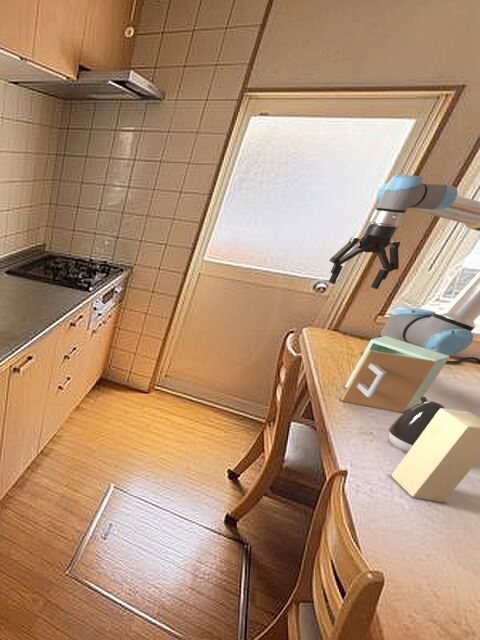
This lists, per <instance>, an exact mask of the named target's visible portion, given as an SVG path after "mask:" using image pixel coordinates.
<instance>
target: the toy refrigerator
mask: <svg viewBox="0 0 480 640" xmlns="http://www.w3.org/2000/svg"><path fill="white" fill-rule="evenodd" d="M479 460H480V417H479V416H477V415H476V414H474V413H472V412H470V411H463V410H457V409H450V408H445V409H444V408H440V409H439V410H438V412H437V413H436V414H435V416H434V417H433V419H432V420H431V421H430V423H429V424H428V425H427V427H426V428H425V430H424V431H423V432H422V434H421V435H420V436H419V438H418V439H417V441H416V442H415V443H414V445H413V446H412V447H411V449H410V450H409V452H406V454H405V456H404V457H403V458H402V460H401V461H400V462H399V464H398V465H397V466H396V468H395V469H394V470H393V472H392V473H391V475H390V477H392V479H393V480H394V481H395V482H396V483H398V485H400V486H401V487H402V488H403V490H405V491H406V492H407V493H408V495H410V496H411V497H412V498H414V499H421V500H427V501H433V502H438V503H444V502H445V501H446V500H447V498H448V497H450V495H451V494H452V493H453V491H454V490H455V489H456V488H457V486H458V485H459V484H460V483H461V482H462V481H463V480H464V478H465V477H466V476H467V475H468V473H469V472H470V471H471V470H472V468H474V466H475V465H476V464H477V462H478V461H479Z"/></svg>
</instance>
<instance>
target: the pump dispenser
mask: <svg viewBox="0 0 480 640" xmlns="http://www.w3.org/2000/svg"><path fill="white" fill-rule="evenodd" d="M420 399H421V401H420V402H419V404H418V405H416V406H414V407H412V408H411V409H408V410H406V411H404V412H403V413H402V415H400V416H398V418H397V419H396V420H395V421H394V422H393V423H392V424H391V425H390V427H389V428H388V439H389V441H390V442H391V444H392V445H393V446H394V447H396V448H397V449H399V450H401V451H402V452H405V453H408V452H409V450H410V449H411V447H412V446H413V445H414V443H415V442H416V441H417V439H418V438H419V436H420V435H421V434H422V432H423V431H424V430H425V428H426V427H427V425H428V424H429V423H430V421H431V420H432V419H433V417H434V416H435V414H436V413H437V412H438V410H439V409H440V408H444V409H446V407H445V406H444V405H443V404H441V403H440V402H437V401H431V400H429V401H428V399H427V398H426V396H423V397H421V398H420Z"/></svg>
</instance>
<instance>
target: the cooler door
mask: <svg viewBox="0 0 480 640" xmlns="http://www.w3.org/2000/svg"><path fill="white" fill-rule="evenodd" d="M435 363H436V362H435V361H433V360H427V359H421V358H415V357H409V356H403V355H397V354H391V353H385V352H378V351H372V350H369V351H368V353H367V355H366V356H365V358H364V360H363V362H362V363H361V365H360V367H359V369H358V370H357V372H356V374H355V376H354V378H353V379H352V381H351V383H350V385H349V386H348V388H346V390H345V391H344V394H343V395H342V397H341V399H340V400H341V401H342V402H347V403H351V404H357V405H361V406H367V407H371V408H378V409H383V410H387V411H393V412H398V413H404V412H405V411H404V410H405V408H406V407H407V405H408V404H409V402H410V401H411V399H412V398H413V396H414V395H415V393H416V392H417V390H418V388H419V387H420V385H421V384H422V382H423V381H424V379H425V378H426V376H427V375H428V373H429V372H430V370H431V369H432V367H433V366H434V364H435Z"/></svg>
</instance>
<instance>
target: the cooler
mask: <svg viewBox="0 0 480 640" xmlns="http://www.w3.org/2000/svg"><path fill="white" fill-rule="evenodd" d="M378 337H379V336H378ZM378 337H374V338H371V339H370V341H369V343H368V344H367V346H366V348H365V350H364V351H363V352H362V355H361V357H360V358H359V360H358V361H357V364H356V366H355V368H354V369H353V371H352V373H351V375H350V376H349V378H348V379H347V382H346V384H345V385H344V388H346V389H347V388H348V386H349V385H350V383H351V381H352V379H353V378H354V376H355V374H356V372H357V370H358V369H359V367H360V365H361V363H362V362H363V360H364V358H365V356H366V355H367V353H368V351H369V350H372V351H378V352H385V353H391V354H397V355H403V356H409V357H415V358H421V359H427V360H433V361H435V362H436V363H435V364H434V366H433V367H432V369H431V370H430V372H429V373H428V375H427V376H426V378H425V379H424V381H423V382H422V384H421V385H420V387H419V388H418V390H417V392H416V393H415V395H414V396H413V398H412V399H411V401H410V402H409V404H408V405H407V407H406V408H405V410H404V411H403V412H406V411H408V410H409V409H411V408H412V407H414V406H416V405H418V404H420V403H421V399H420V398H421V397H425V394H426V393H427V392H428V390H429V389H430V388H431V386H432V384H433V383H434V381H435V380H436V378H437V377H438V375H439V374H440V372H441V371H442V370H443V368H444V366H446V364H447V363H446V362H447V361H449V359H450V358H451V355H450V356H448V355H444V354H441V353H438V352H435V351H432V350H428V349H425V348H422V347H419V346H416V345H413V344H409V343H406V342H403V341H400V340H397V339H394V338H390V337H387V336H384V337H379V338H378Z"/></svg>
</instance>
